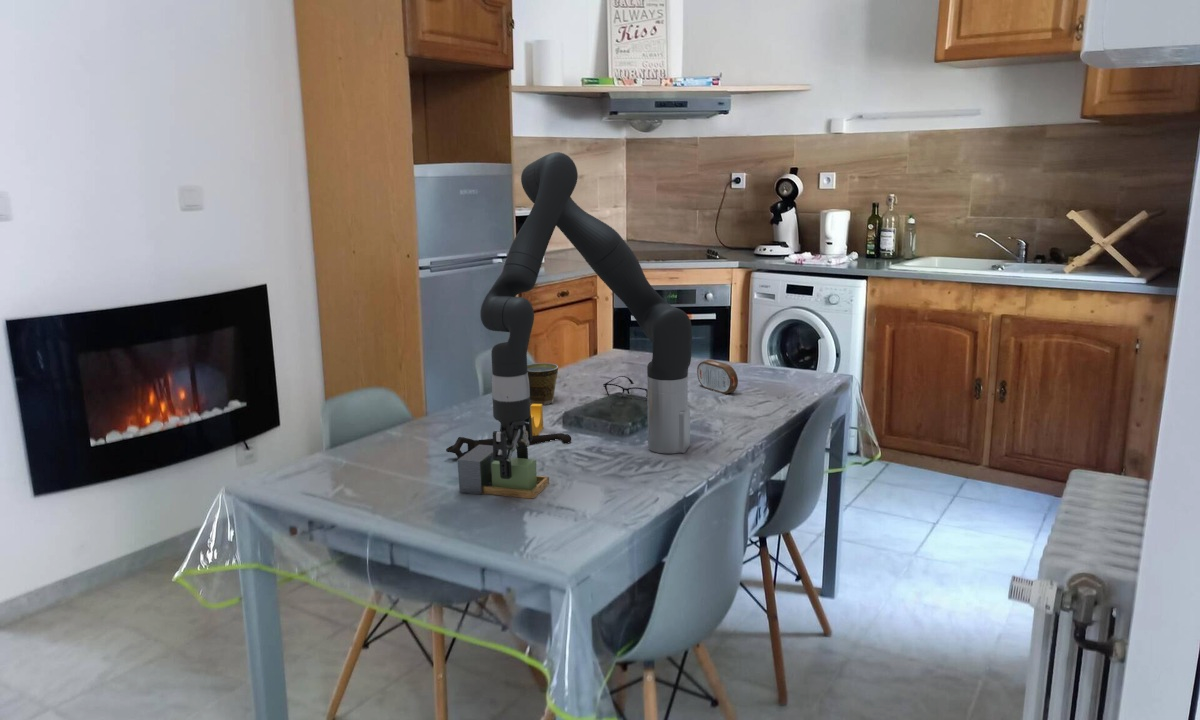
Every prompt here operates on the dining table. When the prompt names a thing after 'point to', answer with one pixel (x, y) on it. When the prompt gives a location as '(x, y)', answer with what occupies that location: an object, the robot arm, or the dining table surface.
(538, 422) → the pipe clamp
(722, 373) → the tin
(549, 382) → the ceramic cup
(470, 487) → the grey block with frame
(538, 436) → the wrench
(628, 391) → the eyeglasses
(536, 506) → the dining table surface
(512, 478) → the sage green upright block
